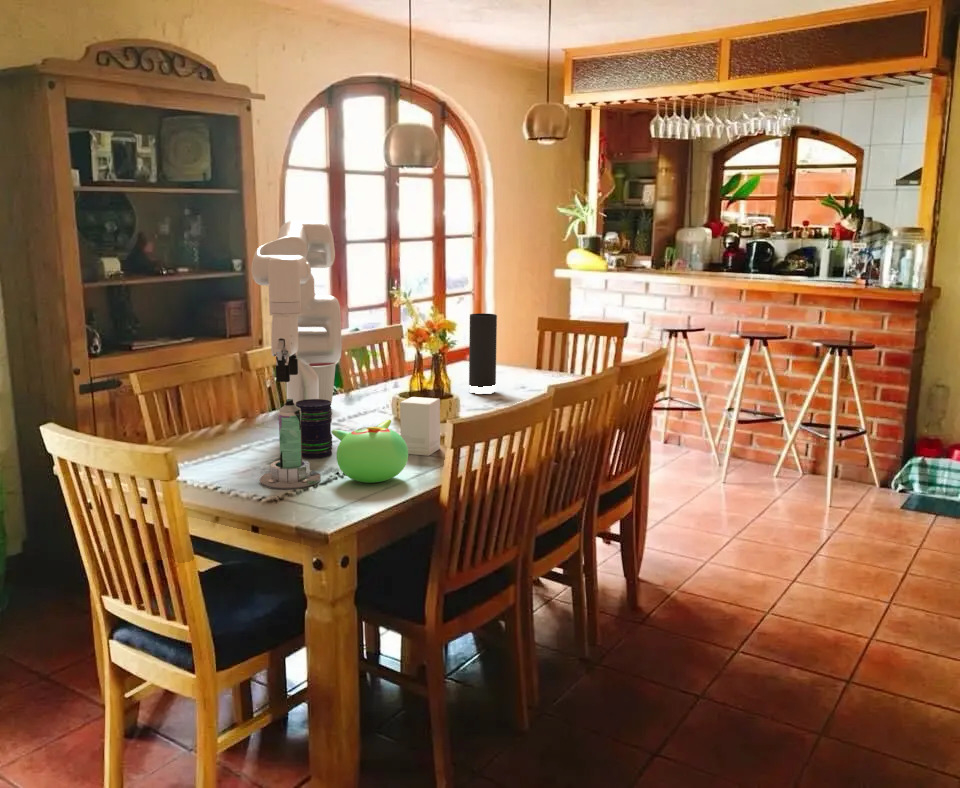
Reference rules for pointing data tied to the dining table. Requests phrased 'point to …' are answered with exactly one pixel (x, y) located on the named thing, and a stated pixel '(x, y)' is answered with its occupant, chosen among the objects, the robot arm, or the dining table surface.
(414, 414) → the supplement box
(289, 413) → the spray can
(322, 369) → the white bucket
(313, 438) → the storage jar
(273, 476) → the collar
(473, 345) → the black tall cylinder
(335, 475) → the dining table surface
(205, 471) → the dining table surface
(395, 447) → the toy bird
